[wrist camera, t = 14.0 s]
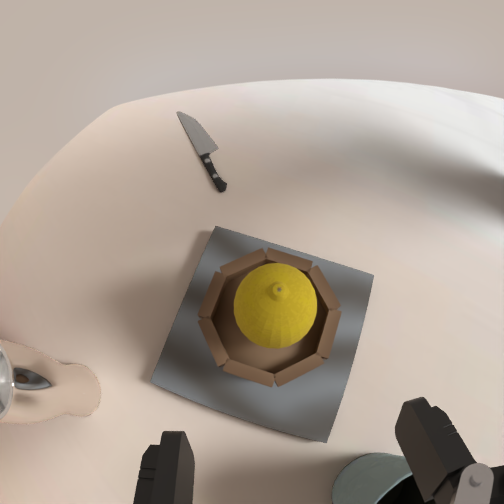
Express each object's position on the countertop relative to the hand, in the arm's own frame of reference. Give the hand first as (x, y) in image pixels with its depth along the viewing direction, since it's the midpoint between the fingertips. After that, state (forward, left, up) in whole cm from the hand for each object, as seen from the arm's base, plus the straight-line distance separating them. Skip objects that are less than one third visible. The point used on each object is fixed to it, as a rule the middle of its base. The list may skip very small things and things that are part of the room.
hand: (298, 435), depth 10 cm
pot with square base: (-7, -3, -21) cm, 22 cm away
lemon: (-7, -3, -13) cm, 15 cm away
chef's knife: (-28, -19, -21) cm, 40 cm away
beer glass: (+7, -20, -21) cm, 30 cm away
